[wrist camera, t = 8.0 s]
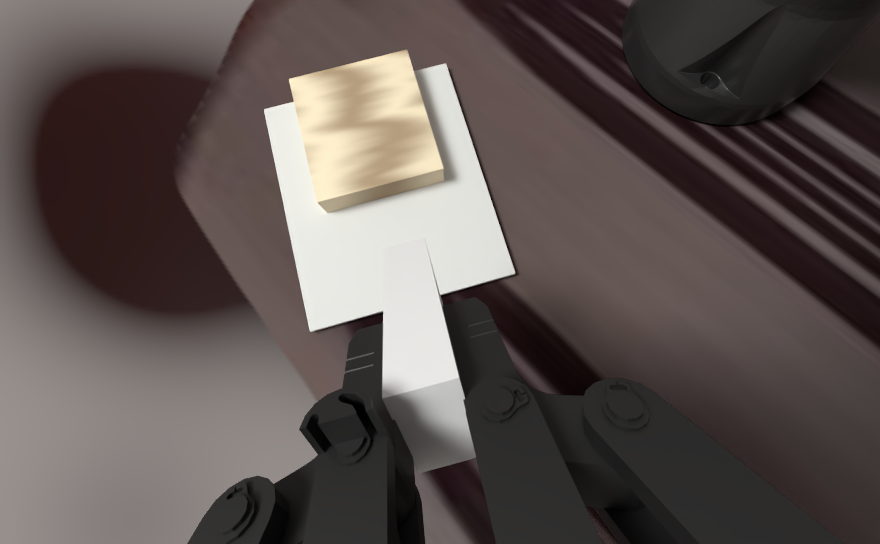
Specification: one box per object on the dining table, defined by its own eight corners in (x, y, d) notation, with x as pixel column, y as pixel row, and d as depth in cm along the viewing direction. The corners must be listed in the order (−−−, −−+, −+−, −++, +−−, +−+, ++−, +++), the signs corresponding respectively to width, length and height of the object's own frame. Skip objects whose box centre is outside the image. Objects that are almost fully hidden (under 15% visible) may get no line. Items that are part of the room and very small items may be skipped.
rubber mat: (445, 69, 27) (445, 63, 26) (513, 274, 24) (515, 273, 23) (267, 114, 26) (263, 109, 26) (313, 331, 23) (309, 331, 23)
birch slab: (443, 181, 25) (409, 70, 26) (443, 168, 23) (406, 49, 24) (327, 212, 24) (300, 98, 26) (316, 202, 22) (288, 79, 24)
